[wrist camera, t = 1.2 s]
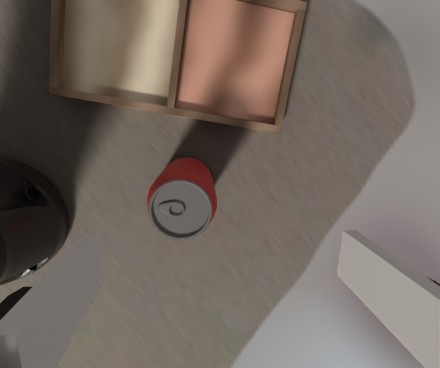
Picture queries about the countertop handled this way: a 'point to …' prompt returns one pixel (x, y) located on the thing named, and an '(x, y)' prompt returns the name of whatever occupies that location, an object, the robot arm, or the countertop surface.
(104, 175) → the countertop surface
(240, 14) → the caddy tray
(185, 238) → the beer can
